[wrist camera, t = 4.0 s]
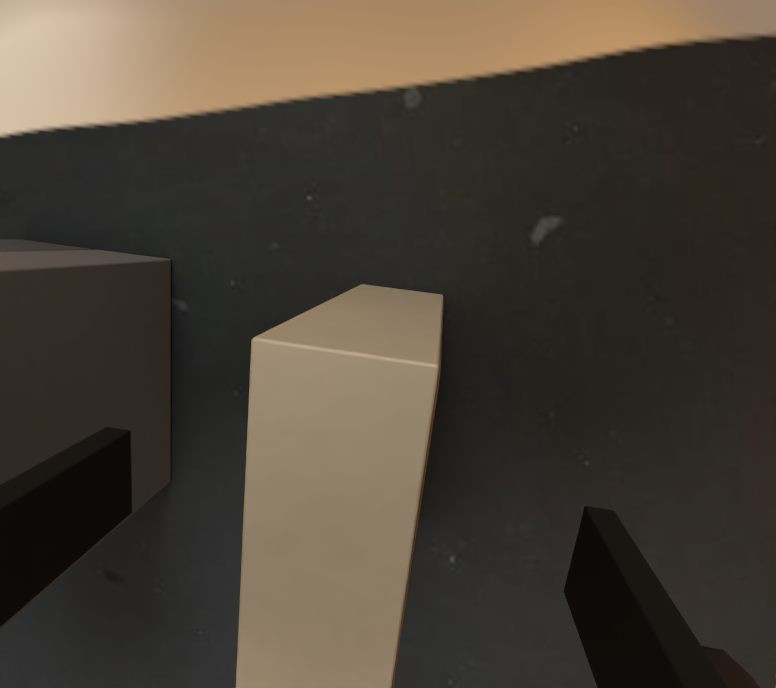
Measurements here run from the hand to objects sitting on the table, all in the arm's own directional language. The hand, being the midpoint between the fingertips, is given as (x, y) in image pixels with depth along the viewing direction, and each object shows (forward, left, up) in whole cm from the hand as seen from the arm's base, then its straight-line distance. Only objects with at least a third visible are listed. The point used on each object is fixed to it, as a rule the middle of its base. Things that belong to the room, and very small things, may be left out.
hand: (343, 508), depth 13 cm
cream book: (0, 0, -8) cm, 8 cm away
